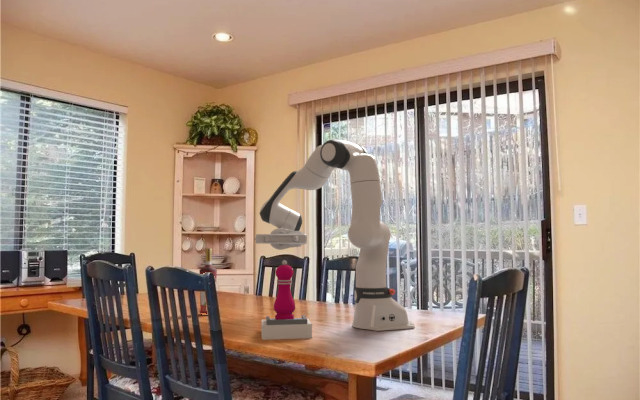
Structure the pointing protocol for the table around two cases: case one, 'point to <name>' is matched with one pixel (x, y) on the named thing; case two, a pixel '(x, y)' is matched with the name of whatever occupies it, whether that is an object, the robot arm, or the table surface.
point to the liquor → (207, 268)
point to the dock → (286, 328)
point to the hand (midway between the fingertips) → (282, 238)
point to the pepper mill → (284, 293)
